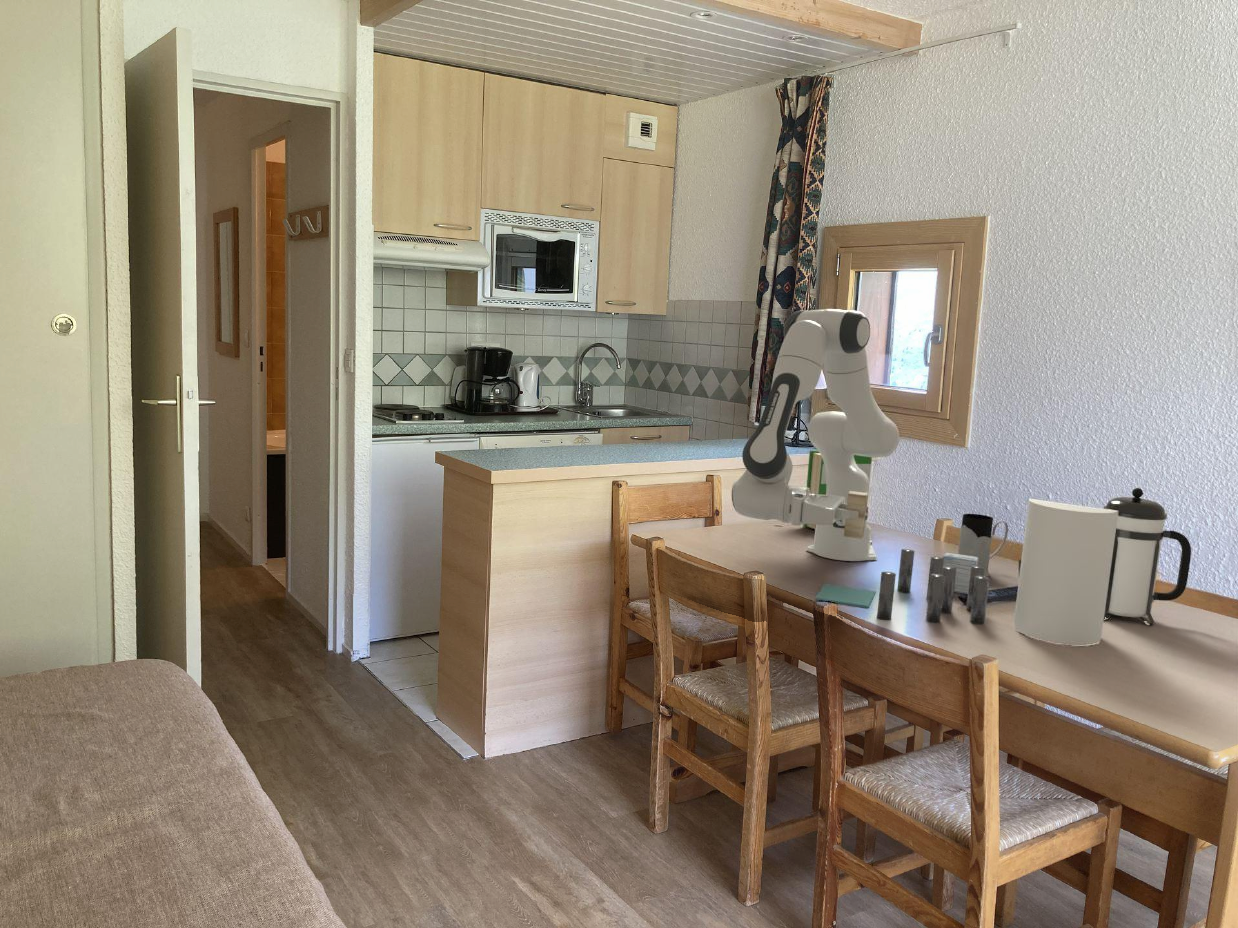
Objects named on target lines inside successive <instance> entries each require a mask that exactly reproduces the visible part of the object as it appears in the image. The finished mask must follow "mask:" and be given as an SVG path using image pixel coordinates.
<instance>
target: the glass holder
mask: <svg viewBox="0 0 1238 928" xmlns="http://www.w3.org/2000/svg"><path fill="white" fill-rule="evenodd" d="M961 521H962V522H961V526H960V532H959V533H960V534H959V541H958V549H957V554H960V555H967V556H973V557H978V566H982V567H985V574H984V576H985V577H989V576H990V573H989V563H990V560H991V559H992V558H993V557H994V556H995V555H996V554H997V553H998V552H999V551H1000V550H1002V548H1003V546H1004V545H1005V543H1006V541H1007V538H1008V532H1009V525H1008V523H1006V521H1003V520H999V521H997V522H995V524H994V523H993V522H994V517H992V516H990V515H985V514H979V513H963V514H962V520H961ZM1000 523H1003V524H1004V526H1005V532H1004V537H1003V540H1002V542H1000V545H999V546H998V548H996V550H995V551H994V552H993V553H991V547H992V540H993V539H992V538H993V537H994V536H995V534H996V529H997V526H998V525H1000ZM993 524H994V525H993ZM988 575H989V576H988Z"/></svg>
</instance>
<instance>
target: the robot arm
mask: <svg viewBox="0 0 1238 928" xmlns="http://www.w3.org/2000/svg"><path fill="white" fill-rule="evenodd" d="M782 333H783V342H782V343H781V346H780V349H779V353H778V355H777V359H776V360H775V365H774V370H773V375H772V381H771V382H772V383H771V386H770V390H769V394H768V397H767V400H766V403H765V406H764V409H763V412H762V415H761V418H760V420H759V423H758V425H757V428H756V429H755V431H754V432H753V434H752V435H751V436H750V438H748V440H747V442H746V443H745V444H744V447H743V450H742V455H741V456H742V462H743V465H744V467H745V472H743V474H742V475H741V476H740V477H739V479H737V480H736V481H735V482H734V483H733V485H732V487H731V503H732V506H733V509H734V510H735V512H736V513H737V514H738V515H741V516H743V517H746V518H751V519H755V520H756V519H757V520H761V521H771V520H773V521H774V520H775V521H779V522H782V523H783V524H784V523H787V524H790V525H792V526H801V525H802V526H803V525H805V524H814V525H816V529H814V538H813V544H811V545H808V546H807V547H806V551H807V552H809V553H812V554H815V555H817V556H820V557H822V558H827V559H830V560H836V561H844V562H846V561H847V562H848V561H849V562H862V561H877V555H876V552H875V549H874V546H873V542H872V540H871V536H872V528H871V526H870V525H868V522H867V520H868V516H869V507H868V506H867V507H866V517H865V527H864V536H863V537H862V539H858V538H851V537H844V529H845V519H847V518H852V519H857V518H858V517H859V511H858V510H846V509H847V499H848V493H849V492H850V491H853V492H862V493H868V494H869V491H868V489H870V481H869V479H868V477H867V475H866V474H865V472H863V471H862V470H861V469H860V468H859V467H858V466H857V464H856V462H855V460H854V455H859V456H865V457H872V458H884V457H890V456H891V455H892V454H893V453H894V452H895V451H896V449H897V447H898V446H899V442H900V432H899V429H898V426H897V425H896V423H895V422H894V421H892V420H891V419H890V418H889V417H888V416H887V415H885V413H884V412H883V411H882V409H881V408H880V407H879V405H878V404H877V403H878V402H876V400H875V397H874V394H873V393H872V389H871V382H870V376H869V365H868V356H867V351H866V346H867V345H868V343H869V341H870V336H871V325H870V321H869V319H868V318H867V317H866V315H865V314H864V313H863V312H861V311H857V310H852V309H850V310H844V309H838V308H837V309H834V308H825V309H811V310H806V309H801V310H796V311H794V312H792V313H791V314H790V315H789V316H788V317H787V318H786V320H785V322H784V325H783V332H782ZM823 366H824V376H825V385H826V393H827V396H828V399H830V401H831V402H832V403H833V404H835V405H836V406H837V407H838V408H840V409H841V411H835V410H832V411H821V412H818V413H816V414H814V416H813V417H812V418H811V419H810V421H809V423H808V427H807V436H808V438H809V441H810V443H811V444H812V445H813V446H814V447H815V449H816V451H819V453H820V454H821V456H822V459H823V461H824V464H825V468H826V474H827V488H826V495H824V494H812V493H810V488H808V487H807V486H798V485H789V482H790V480H791V476H792V473H793V461H792V459H791V457H790V454H789V452H788V451H787V448H786V440H785V438H786V433H787V429H788V426H789V424H790V420H791V417H792V415H793V411H794V408H795V407H796V404H797V403H798V402H799V401H803V400H805V399H807V398H809V397H811V396H812V395H813V393H814V392H815V390H816V387H817V385H818V383H819V380H820V377H821V374H822V371H823ZM867 498H869V496H868V497H867Z"/></svg>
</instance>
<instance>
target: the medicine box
mask: <svg viewBox="0 0 1238 928" xmlns="http://www.w3.org/2000/svg"><path fill="white" fill-rule="evenodd" d="M942 558H944V566H947V567H954V568H956V578H955V587H954V593H959V594H966V595H968V589H969V581H970V572H971V566H973V565H976V566H978V557H973V556H967V555H960V554H958V553H951V552H945V553H944V554H943V556H942ZM944 566H943V567H944Z"/></svg>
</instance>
